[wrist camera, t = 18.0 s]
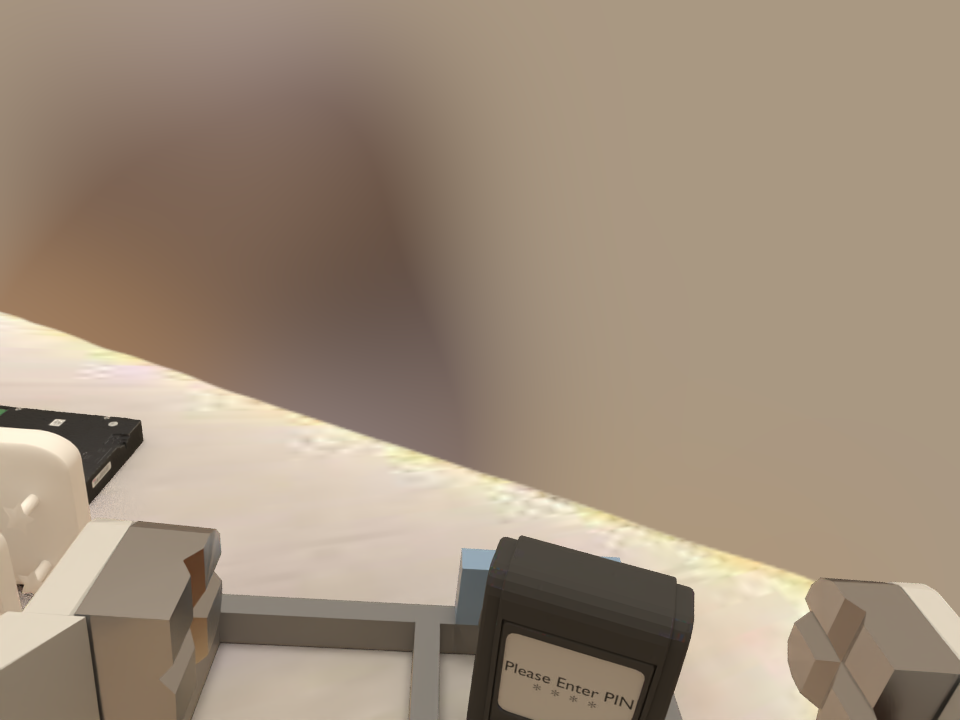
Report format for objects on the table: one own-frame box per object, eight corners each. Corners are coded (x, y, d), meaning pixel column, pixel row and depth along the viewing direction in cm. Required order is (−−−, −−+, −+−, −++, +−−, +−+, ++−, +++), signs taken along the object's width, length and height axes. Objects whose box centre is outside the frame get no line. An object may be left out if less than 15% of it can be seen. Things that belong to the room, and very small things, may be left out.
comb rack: (101, 867, 32) (80, 766, 29) (204, 618, 45) (197, 532, 42) (708, 880, 34) (746, 788, 31) (635, 640, 47) (657, 559, 44)
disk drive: (145, 445, 63) (-25, 427, 62) (143, 418, 62) (-30, 400, 61) (87, 517, 54) (-114, 497, 53) (83, 486, 52) (-123, 466, 52)
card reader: (447, 796, 36) (478, 574, 30) (470, 731, 40) (501, 520, 34) (623, 860, 35) (695, 637, 28) (630, 785, 38) (696, 572, 32)
